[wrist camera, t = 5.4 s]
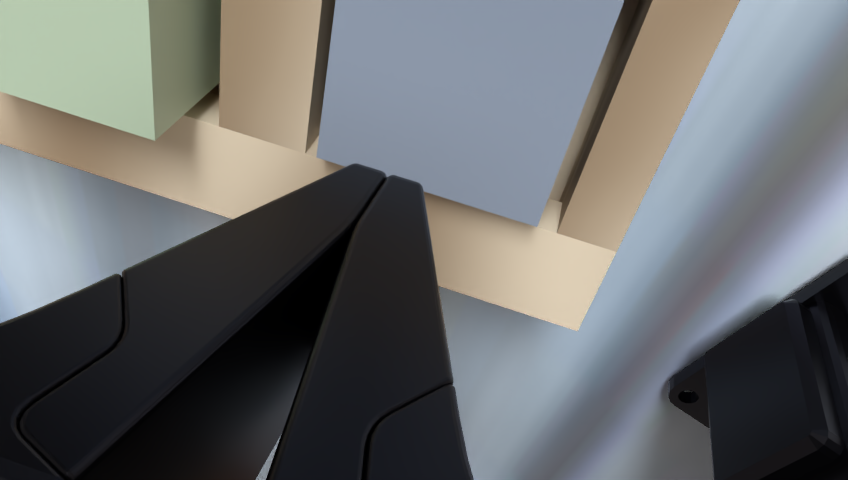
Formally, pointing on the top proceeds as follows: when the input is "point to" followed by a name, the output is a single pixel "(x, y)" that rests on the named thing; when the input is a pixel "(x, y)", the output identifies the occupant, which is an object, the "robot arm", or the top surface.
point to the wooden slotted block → (448, 220)
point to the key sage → (112, 58)
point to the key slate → (463, 93)
